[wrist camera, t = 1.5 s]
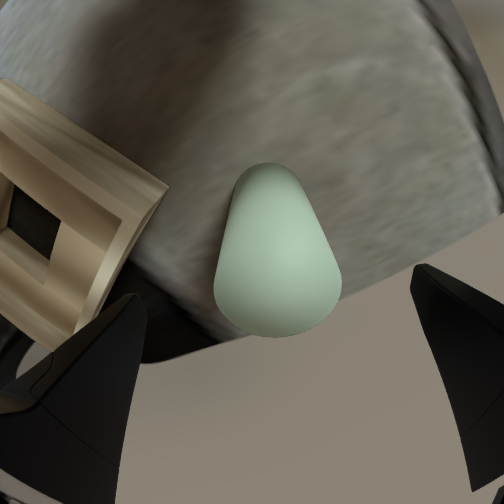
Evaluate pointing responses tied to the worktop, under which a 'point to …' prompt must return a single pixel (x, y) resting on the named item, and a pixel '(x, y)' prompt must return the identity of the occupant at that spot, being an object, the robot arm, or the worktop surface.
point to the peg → (274, 257)
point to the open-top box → (65, 217)
